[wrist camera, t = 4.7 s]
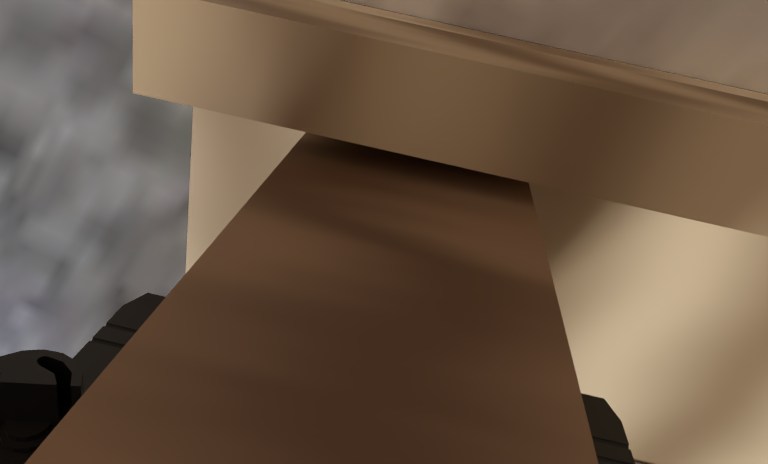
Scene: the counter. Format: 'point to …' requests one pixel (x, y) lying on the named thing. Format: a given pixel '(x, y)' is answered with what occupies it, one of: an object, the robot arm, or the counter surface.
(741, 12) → the counter surface
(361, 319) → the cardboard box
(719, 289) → the board
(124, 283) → the counter surface
